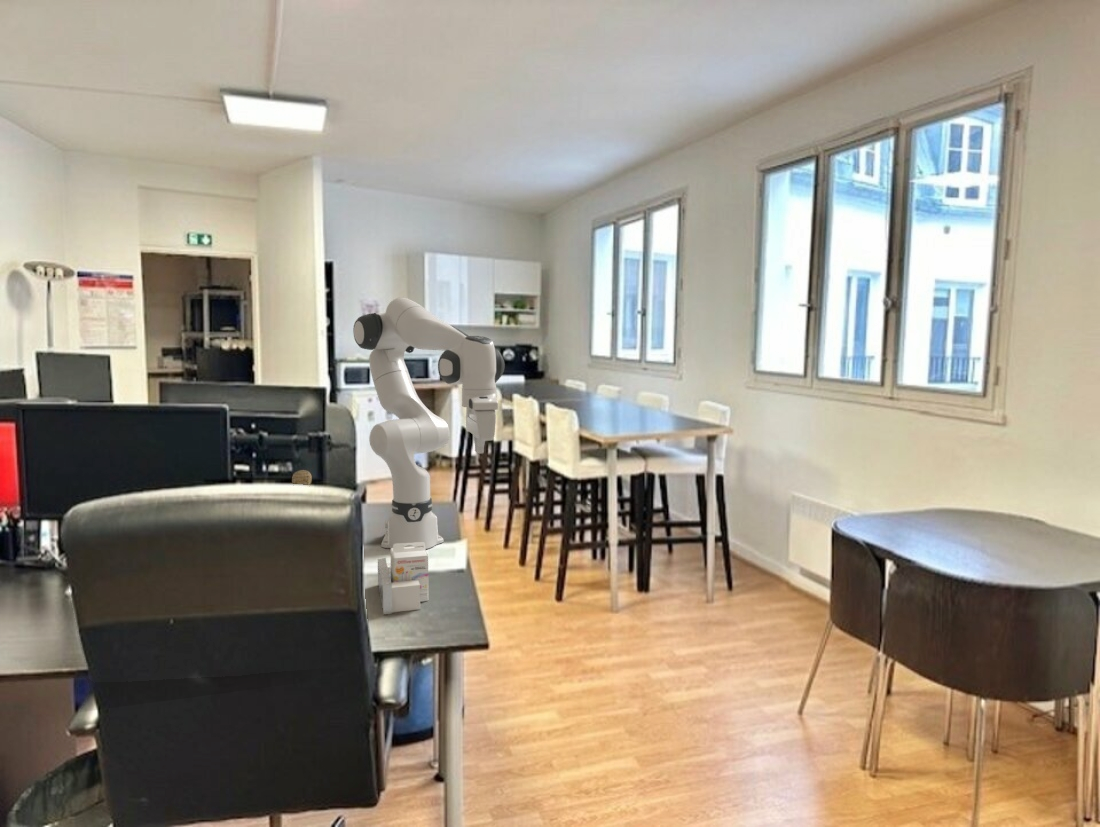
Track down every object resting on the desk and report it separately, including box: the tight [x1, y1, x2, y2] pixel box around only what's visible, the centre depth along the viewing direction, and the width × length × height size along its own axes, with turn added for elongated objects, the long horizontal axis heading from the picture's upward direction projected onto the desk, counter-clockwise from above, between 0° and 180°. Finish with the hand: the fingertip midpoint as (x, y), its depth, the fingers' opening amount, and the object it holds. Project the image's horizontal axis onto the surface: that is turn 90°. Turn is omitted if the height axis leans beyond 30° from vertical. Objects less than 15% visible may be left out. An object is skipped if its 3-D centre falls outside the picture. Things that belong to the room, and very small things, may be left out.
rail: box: [377, 557, 393, 615], centre depth 178 cm, size 20×2×7 cm, turn 17°
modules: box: [386, 562, 421, 613], centre depth 179 cm, size 18×7×6 cm, turn 17°
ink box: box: [389, 542, 430, 603], centre depth 179 cm, size 9×8×13 cm
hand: (479, 452), depth 188 cm, fingers closed
